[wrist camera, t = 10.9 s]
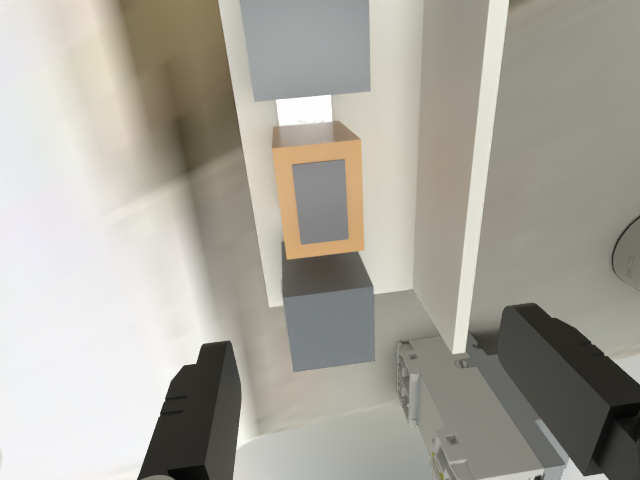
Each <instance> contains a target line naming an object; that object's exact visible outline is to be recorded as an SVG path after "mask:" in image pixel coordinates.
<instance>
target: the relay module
mask: <svg viewBox="0 0 640 480" xmlns="http://www.w3.org/2000/svg"><path fill="white" fill-rule="evenodd" d="M272 154H273V161H274V168H275V176H276V183H277V191H278V198H279V205H280V213H281V220H282V228H283V235H284V242H285V250H286V257H287V260H289V259H297V258H305V257H314V256H322V255H330V254H338V253H347V252H355V251H363V250H364V219H363V186H362V152H361V139H360V138H359V137H358V136H356V135H355V134H354V133H353V132H352V131H351V130H349V129H348V128H347V127H346V126H345V125H344V124H342V123H341V122H340V121H332V122H322V123H311V124H301V125H291V126H281V127H273V137H272Z"/></svg>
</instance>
